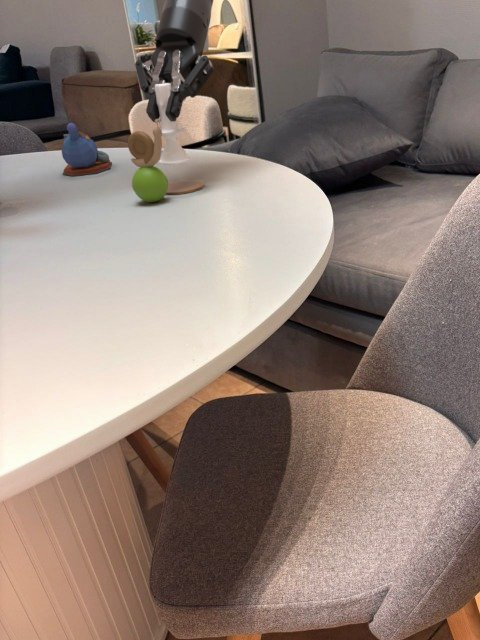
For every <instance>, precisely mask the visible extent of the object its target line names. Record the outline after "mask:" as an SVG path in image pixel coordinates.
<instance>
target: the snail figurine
mask: <svg viewBox="0 0 480 640" xmlns="http://www.w3.org/2000/svg"><path fill="white" fill-rule="evenodd" d="M154 123H155V124H156V127H154V128H153V129H152V135H153V139H152V136H150V135H149V134H147V133H146V132H144V131H141V130H137V131H134V132H132V133H131V134H130V135H129V136H128V139H127V148H128V150H129V152H130V154H131V156H132V157H134V158H132V157H131V158H130V161H131V162H132V164H133V165H134V166H136V167H138V169H137V170H135V172H134V174H133V175H132V179H131V186H132V189H133V191H134V193H135V195H136V196H137V197H138V198H139V199H140V200H142V201H144V202H146V203H155V202H158V201H160V200H162V199H163V198H164V197H165V196H166V195H165V194H166V192H167V189H168V183H169V181H168V177H167V176H166V174H165V173H164V171H163V170H162V169H161V168H159V167H157V166H155V165H156V164H158V163H159V162H158V161H159V160H160V159H161V152H162V151H163V141H162V140H163V139H162V137H163V136H162V130H161V129H162V128H161V127H160V126H159V125H161V120H160V118H159V119H156V120H155V122H154Z"/></svg>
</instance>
